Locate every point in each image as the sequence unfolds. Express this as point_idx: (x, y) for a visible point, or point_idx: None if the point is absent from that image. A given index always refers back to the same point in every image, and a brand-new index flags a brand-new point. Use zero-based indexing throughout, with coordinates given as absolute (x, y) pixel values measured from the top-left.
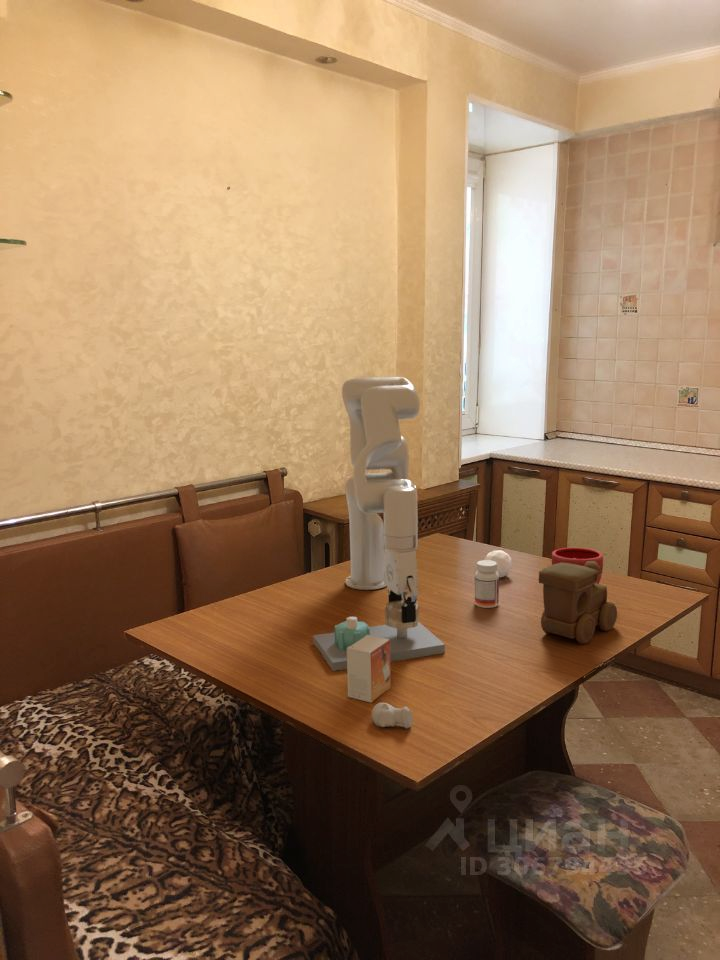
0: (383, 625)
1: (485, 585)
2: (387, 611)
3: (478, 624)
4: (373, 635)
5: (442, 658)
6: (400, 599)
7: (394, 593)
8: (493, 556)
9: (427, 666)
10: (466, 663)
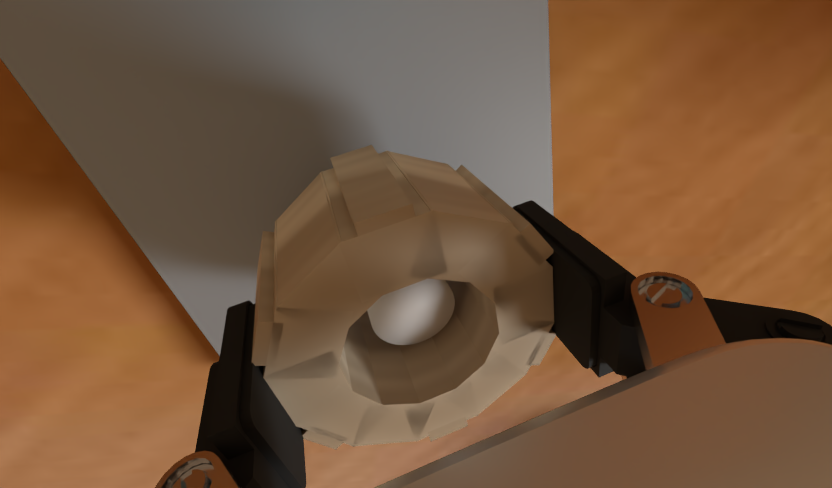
0: (544, 118)
1: None
2: (351, 216)
3: (500, 429)
4: (403, 32)
5: (186, 361)
6: (560, 330)
7: (608, 332)
8: None
9: (62, 310)
10: (141, 438)
